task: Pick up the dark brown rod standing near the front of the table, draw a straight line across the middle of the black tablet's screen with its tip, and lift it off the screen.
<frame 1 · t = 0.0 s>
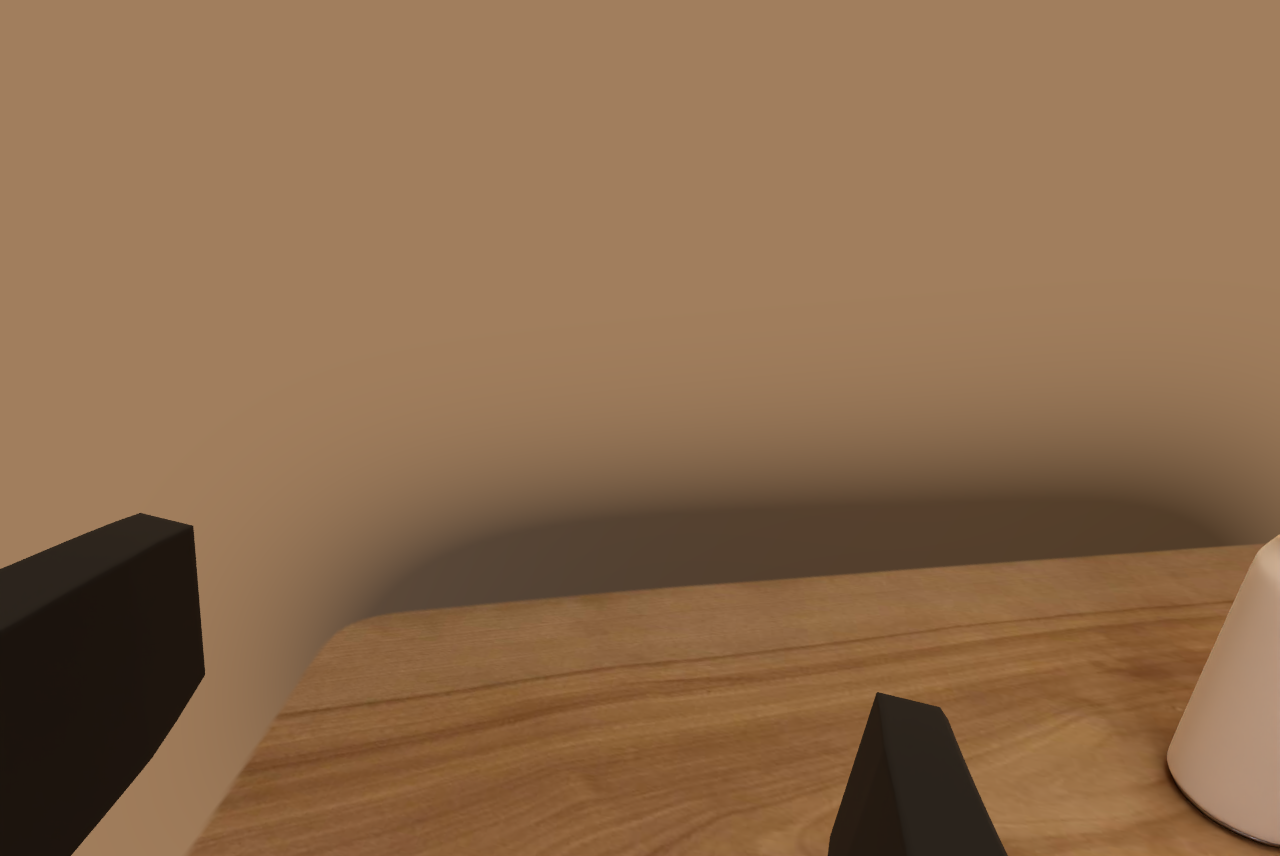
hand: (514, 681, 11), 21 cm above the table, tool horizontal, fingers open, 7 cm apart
can: (1241, 799, 45), on the table
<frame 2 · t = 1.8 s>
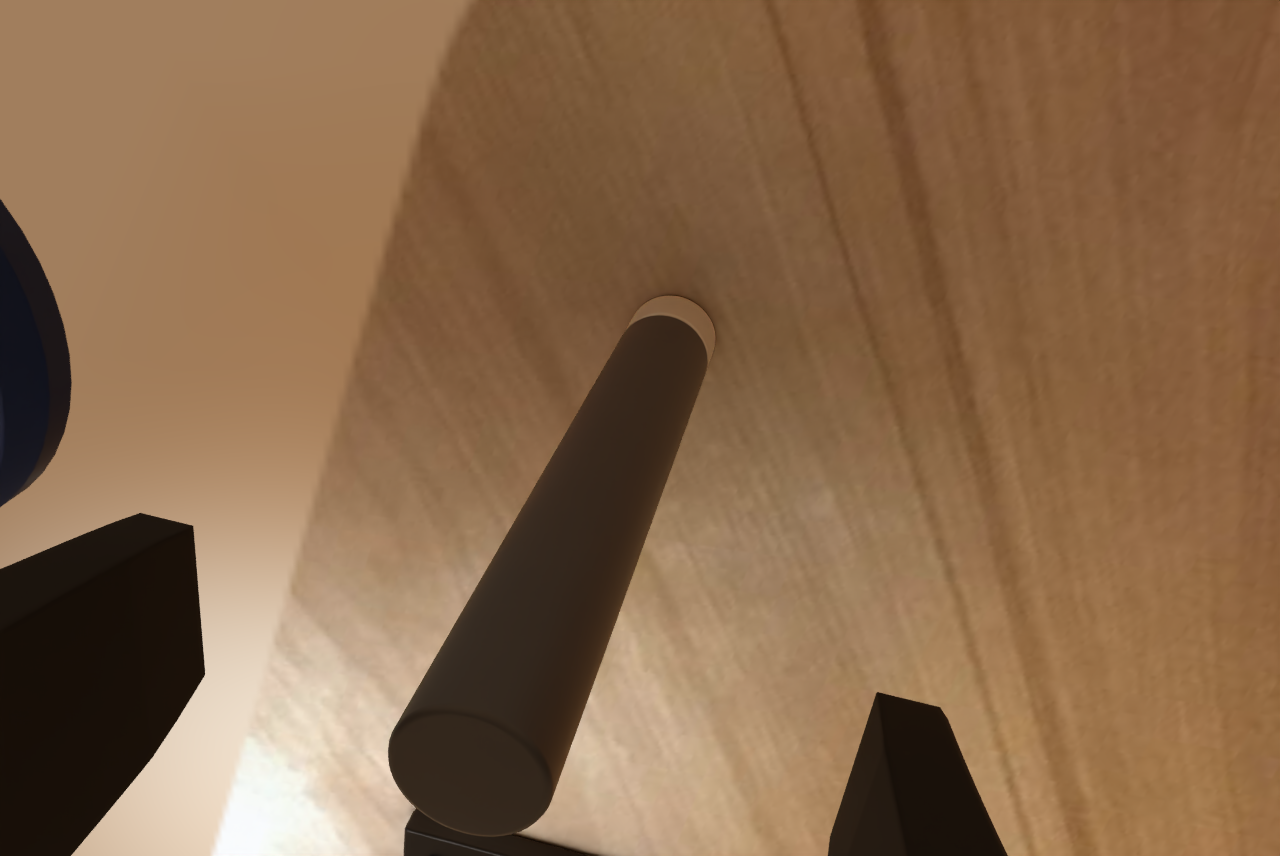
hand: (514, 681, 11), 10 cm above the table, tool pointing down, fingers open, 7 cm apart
dark brown rod: (672, 335, 19), on the table
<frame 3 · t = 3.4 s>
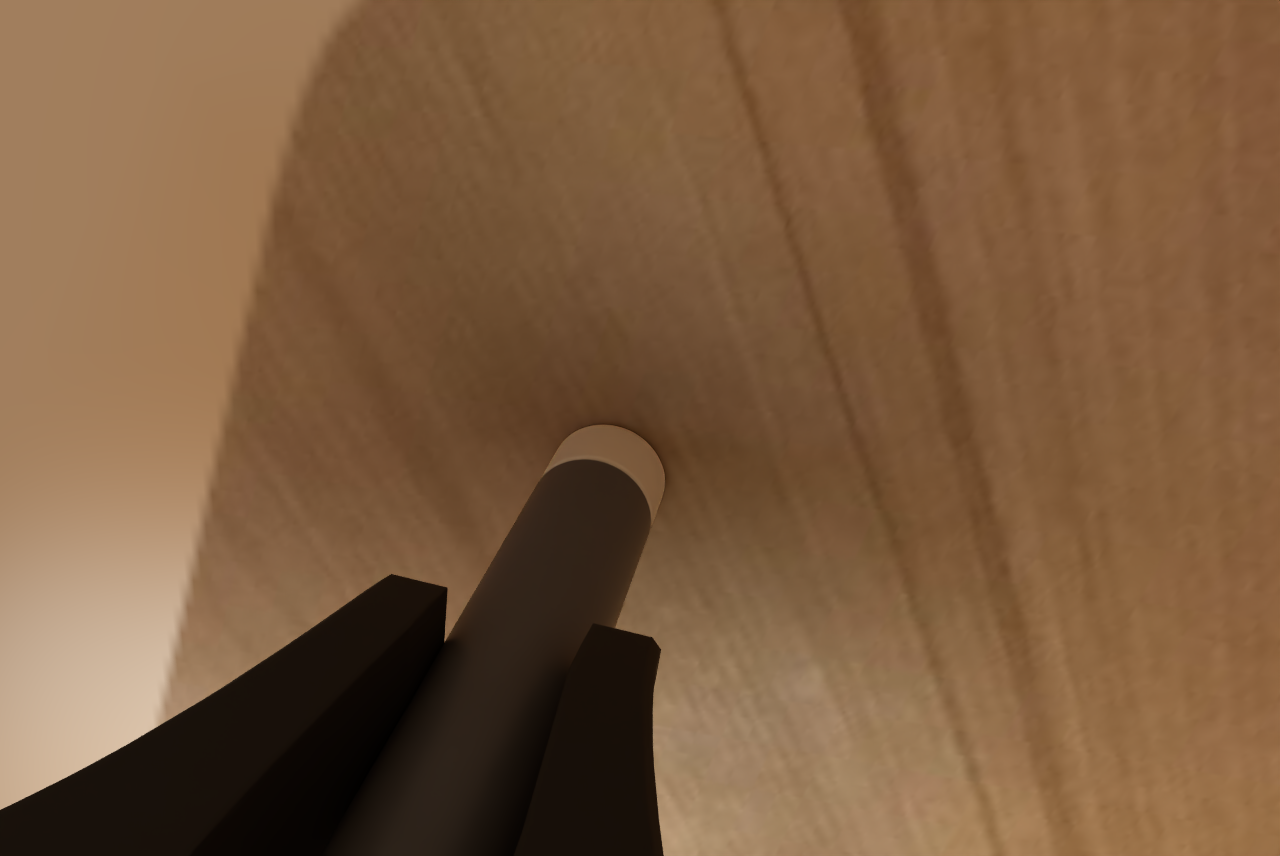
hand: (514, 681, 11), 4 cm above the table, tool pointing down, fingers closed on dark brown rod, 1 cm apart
dark brown rod: (609, 473, 15), on the table, touching gripper
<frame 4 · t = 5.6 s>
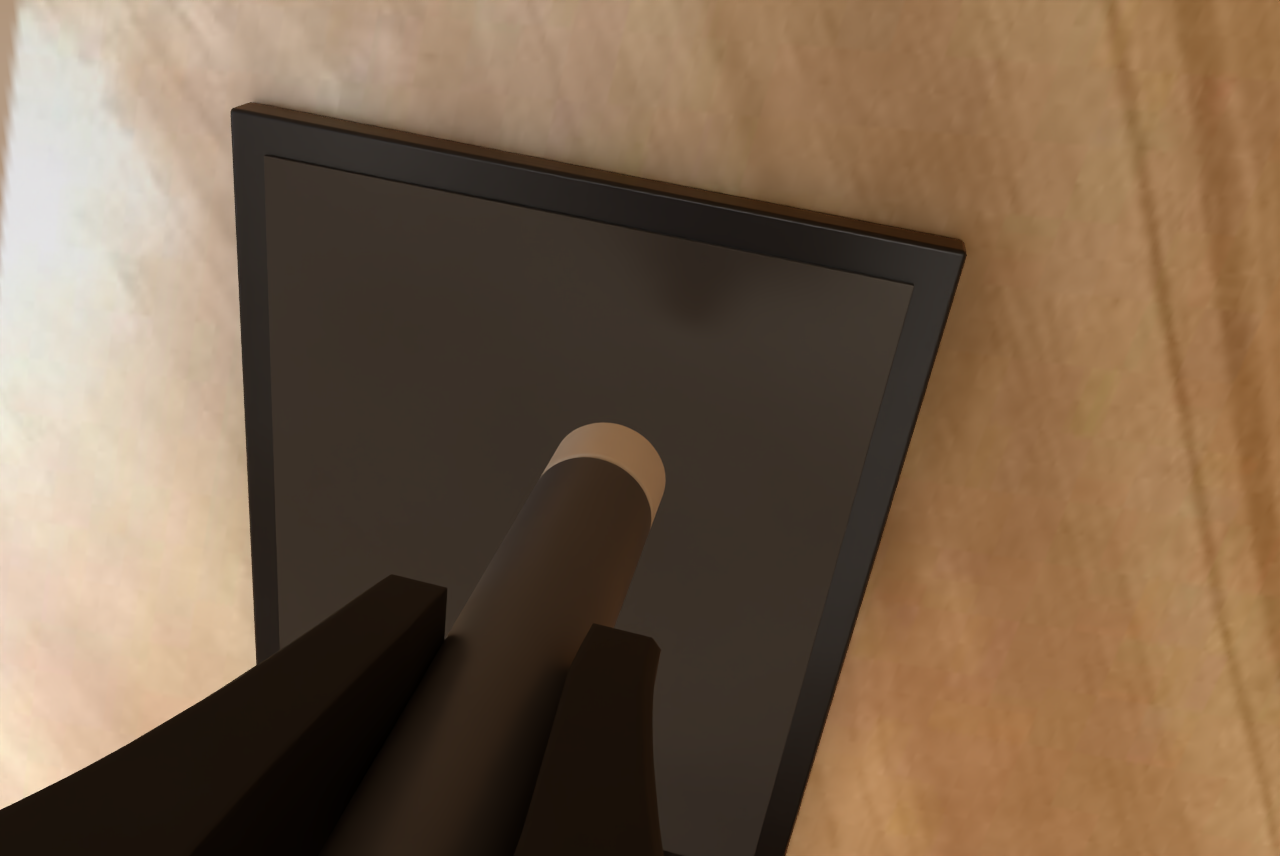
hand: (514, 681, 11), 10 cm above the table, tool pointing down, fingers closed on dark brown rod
dark brown rod: (610, 471, 15), point 6 cm above the table, touching gripper
tablet: (548, 540, 22), on the table
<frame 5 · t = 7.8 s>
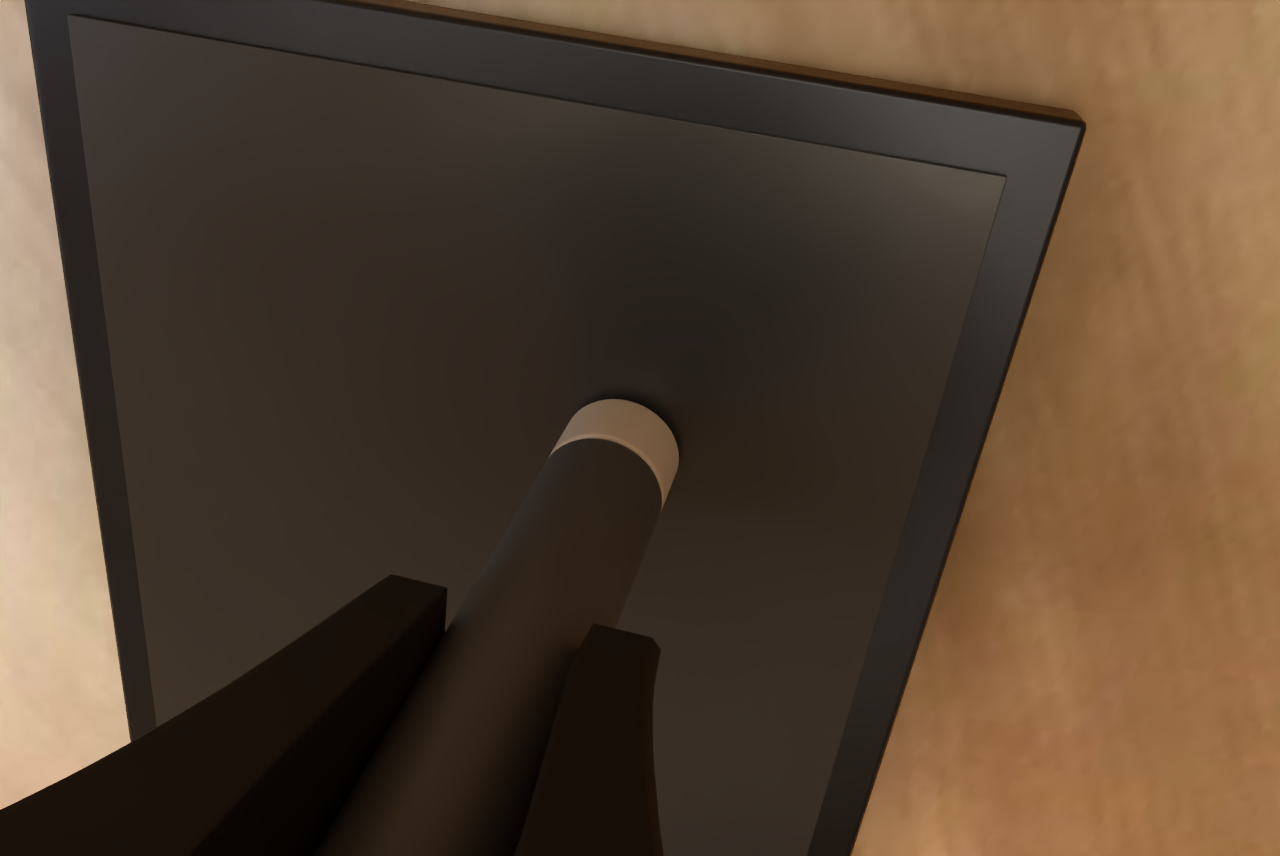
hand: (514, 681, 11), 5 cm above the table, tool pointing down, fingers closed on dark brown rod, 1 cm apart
dark brown rod: (622, 448, 14), point 1 cm above the table, touching gripper
tablet: (495, 556, 17), on the table
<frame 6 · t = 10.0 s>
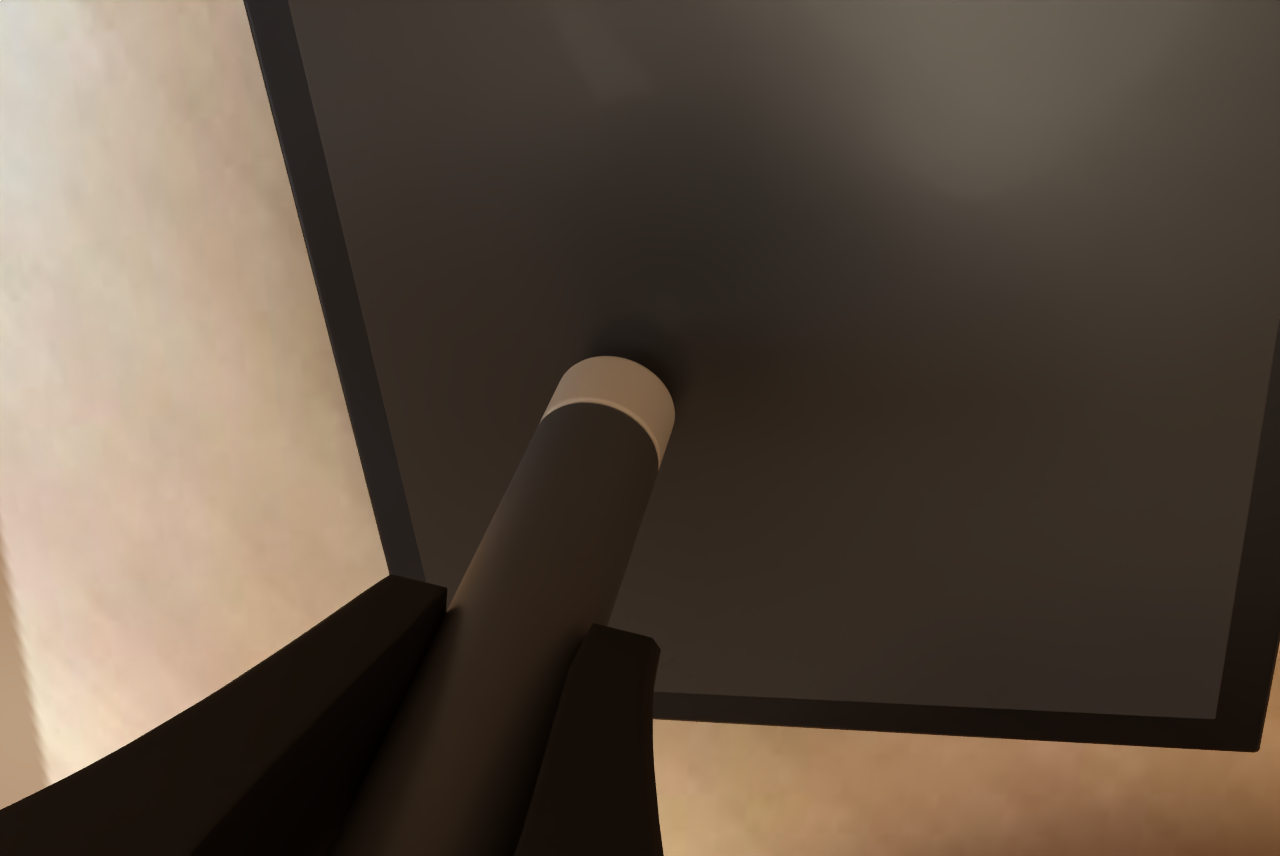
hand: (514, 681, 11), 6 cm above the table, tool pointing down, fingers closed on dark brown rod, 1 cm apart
dark brown rod: (616, 404, 14), point 1 cm above the table, tilted 11°, touching gripper
tablet: (780, 219, 14), on the table
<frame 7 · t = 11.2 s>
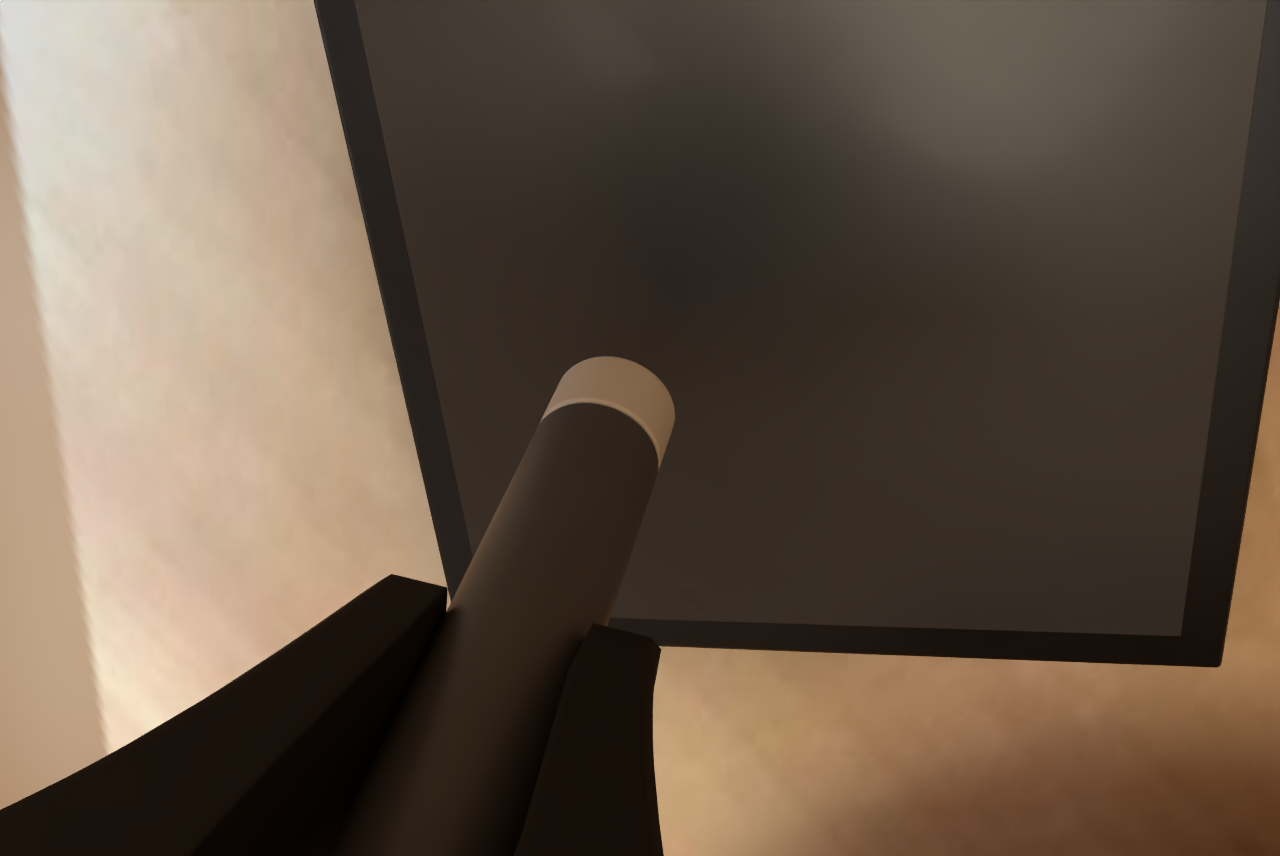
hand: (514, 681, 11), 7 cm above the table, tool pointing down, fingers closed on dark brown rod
dark brown rod: (616, 404, 14), point 3 cm above the table, tilted 11°, touching gripper
tablet: (789, 183, 15), on the table
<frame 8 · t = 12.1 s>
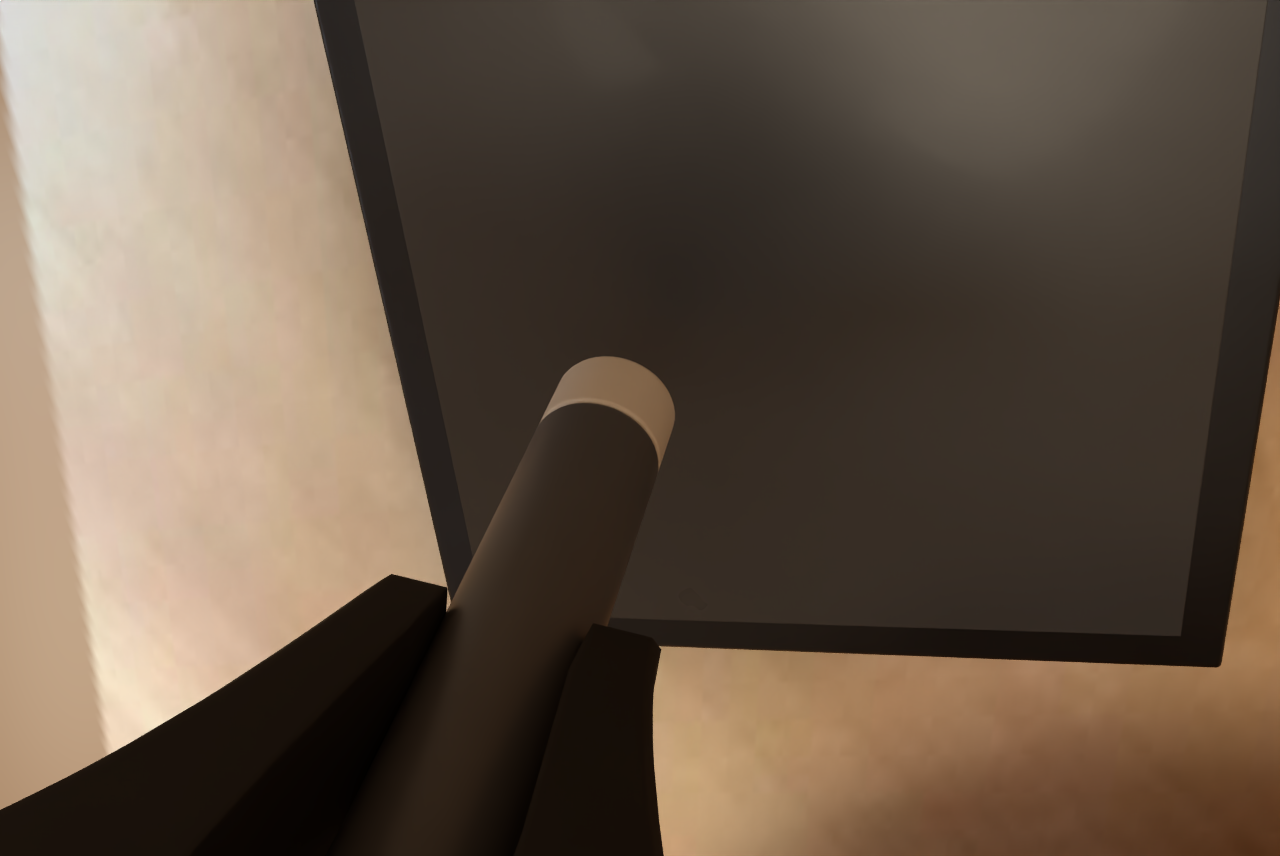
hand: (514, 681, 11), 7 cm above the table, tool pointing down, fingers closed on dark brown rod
dark brown rod: (616, 404, 14), point 3 cm above the table, tilted 11°, touching gripper
tablet: (789, 183, 15), on the table
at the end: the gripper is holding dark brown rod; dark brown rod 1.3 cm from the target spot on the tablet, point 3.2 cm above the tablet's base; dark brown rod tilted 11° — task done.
